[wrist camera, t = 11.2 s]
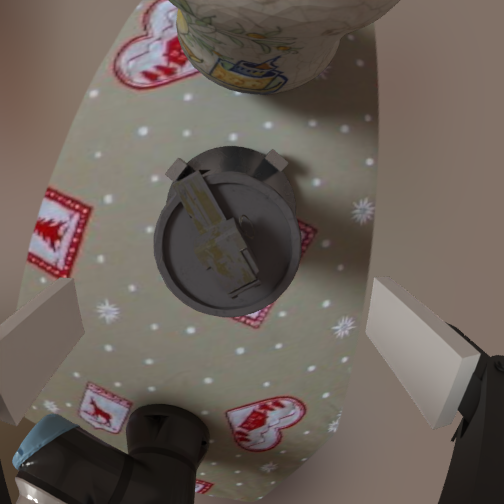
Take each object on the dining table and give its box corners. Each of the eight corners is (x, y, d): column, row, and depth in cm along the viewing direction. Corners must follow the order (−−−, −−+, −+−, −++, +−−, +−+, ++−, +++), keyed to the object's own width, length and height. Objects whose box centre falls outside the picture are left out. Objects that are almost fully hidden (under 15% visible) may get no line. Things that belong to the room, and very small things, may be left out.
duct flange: (239, 301, 44) (240, 313, 41) (135, 220, 40) (127, 225, 37) (328, 202, 41) (336, 206, 38) (222, 111, 37) (221, 106, 34)
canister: (288, 230, 40) (336, 289, 20) (215, 270, 41) (198, 358, 21) (246, 152, 37) (257, 134, 18) (170, 195, 38) (109, 222, 19)
